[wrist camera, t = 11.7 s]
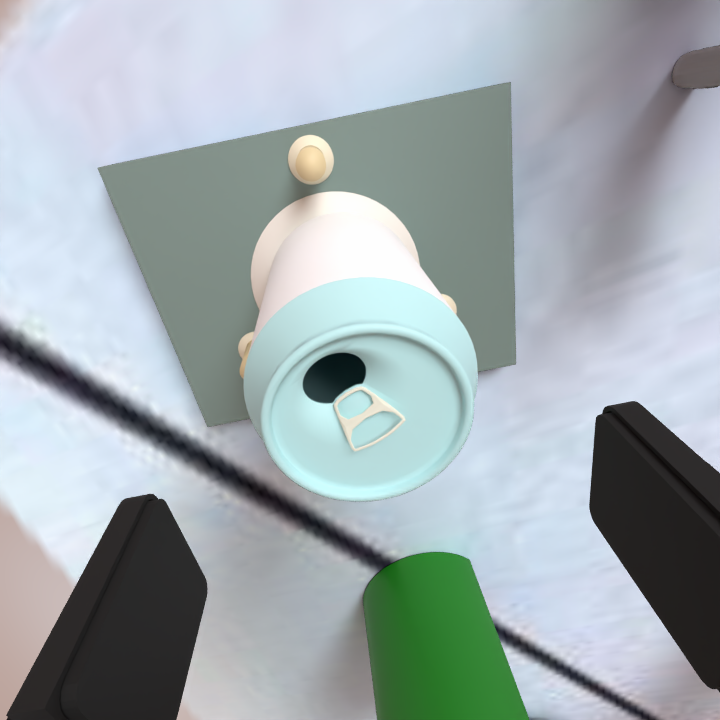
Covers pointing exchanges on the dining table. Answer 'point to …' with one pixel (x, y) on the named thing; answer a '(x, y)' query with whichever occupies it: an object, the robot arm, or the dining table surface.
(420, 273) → the can
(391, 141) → the pin board
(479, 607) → the motor
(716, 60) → the mechanical component
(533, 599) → the dining table surface
